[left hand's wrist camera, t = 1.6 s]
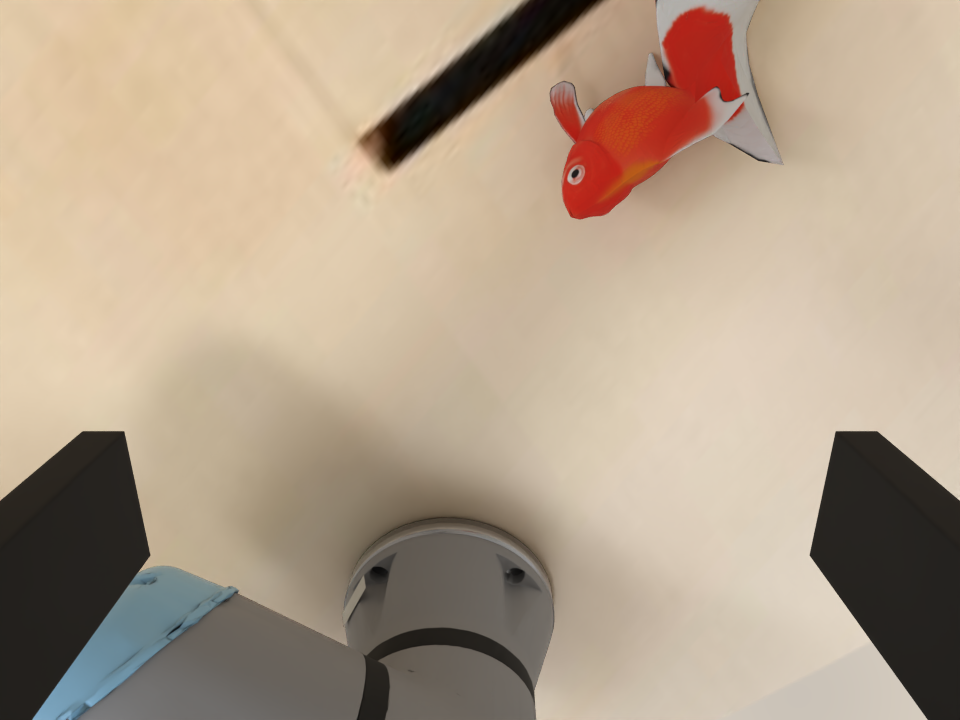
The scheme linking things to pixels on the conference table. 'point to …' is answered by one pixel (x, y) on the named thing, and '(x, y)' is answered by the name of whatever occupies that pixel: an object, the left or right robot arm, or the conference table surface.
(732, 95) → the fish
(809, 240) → the conference table surface
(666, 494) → the conference table surface
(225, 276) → the conference table surface
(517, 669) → the left robot arm
